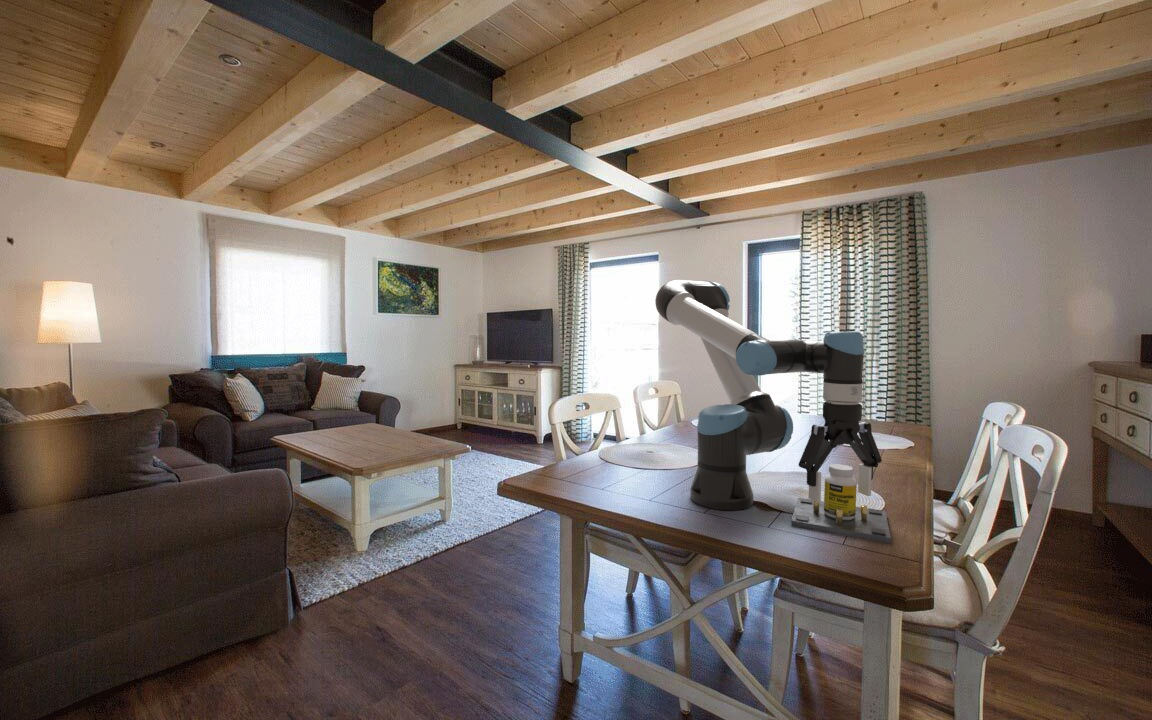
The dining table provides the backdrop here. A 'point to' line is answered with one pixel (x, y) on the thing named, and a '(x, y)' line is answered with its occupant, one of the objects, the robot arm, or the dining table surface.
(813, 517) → the plate
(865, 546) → the dining table surface
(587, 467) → the dining table surface
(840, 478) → the pill bottle
